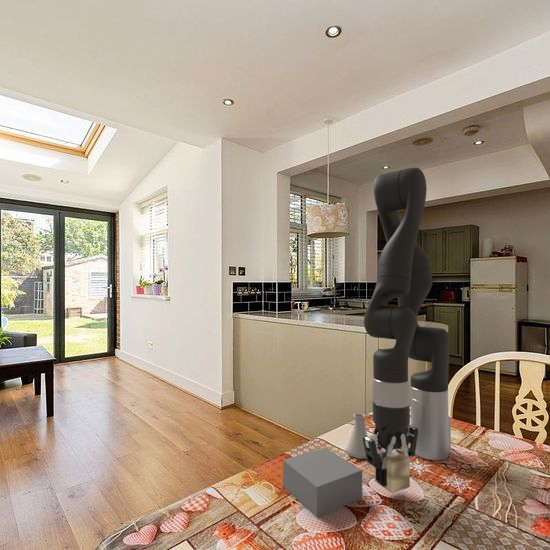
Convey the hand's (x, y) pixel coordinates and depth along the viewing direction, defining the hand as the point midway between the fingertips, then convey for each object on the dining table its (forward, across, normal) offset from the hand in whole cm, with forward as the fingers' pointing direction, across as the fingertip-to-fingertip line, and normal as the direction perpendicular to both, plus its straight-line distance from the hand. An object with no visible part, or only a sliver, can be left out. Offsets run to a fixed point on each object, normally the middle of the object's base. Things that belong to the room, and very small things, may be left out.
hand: (391, 480), depth 74 cm
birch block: (+1, 0, 0) cm, 1 cm away
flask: (+4, -7, -18) cm, 19 cm away
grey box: (+3, +12, -8) cm, 15 cm away
